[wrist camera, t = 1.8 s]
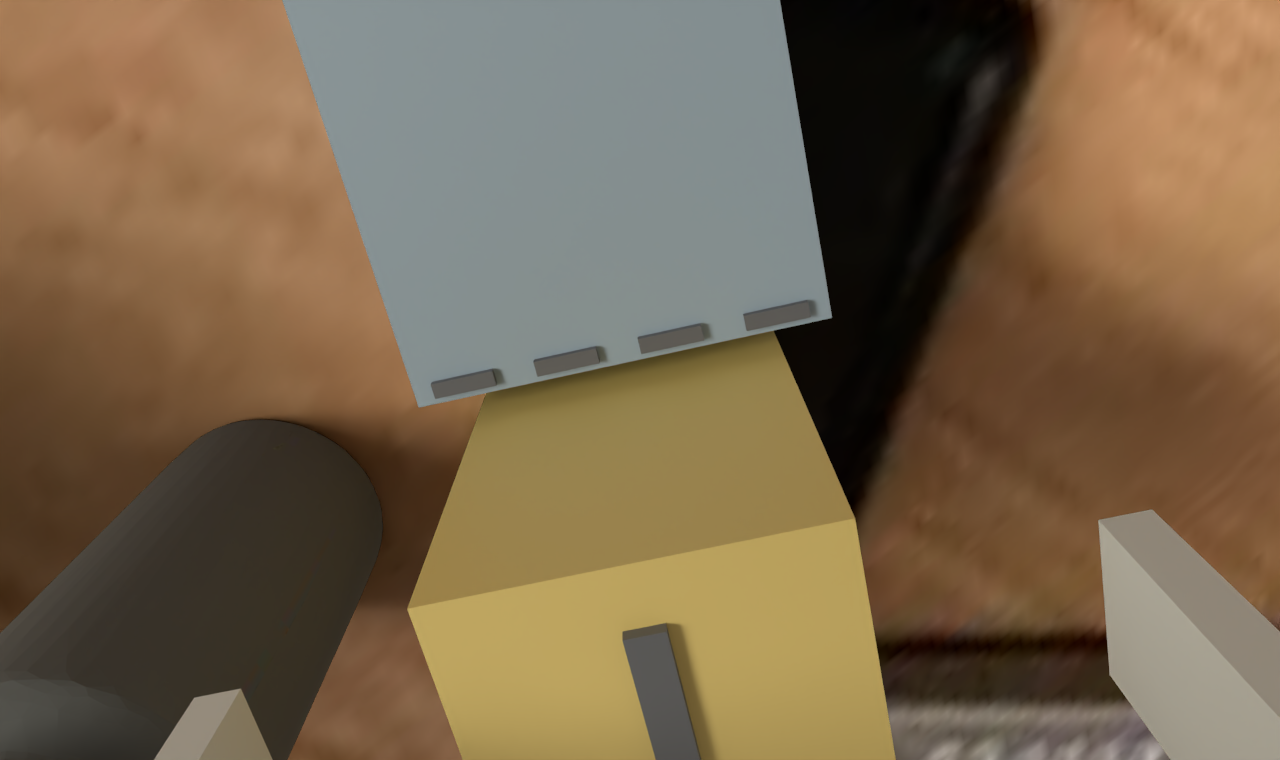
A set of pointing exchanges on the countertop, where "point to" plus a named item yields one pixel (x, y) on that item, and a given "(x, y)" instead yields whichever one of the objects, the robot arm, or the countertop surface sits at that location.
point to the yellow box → (652, 572)
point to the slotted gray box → (567, 178)
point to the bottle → (197, 600)
